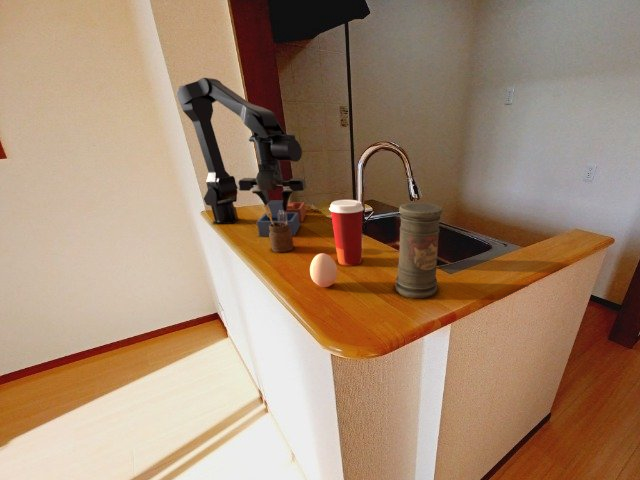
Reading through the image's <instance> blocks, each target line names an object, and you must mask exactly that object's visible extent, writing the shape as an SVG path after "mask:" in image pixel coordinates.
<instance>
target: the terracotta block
mask: <svg viewBox="0 0 640 480" xmlns="http://www.w3.org/2000/svg"><path fill="white" fill-rule="evenodd" d="M287 209H295V204H294V203H288V205H287Z"/></svg>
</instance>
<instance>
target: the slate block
mask: <svg viewBox="0 0 640 480" xmlns="http://www.w3.org/2000/svg"><path fill="white" fill-rule="evenodd" d="M267 204H268V206H269V209H270V211H271V214H272V217H271V218H284V217H285V216H286V214H285V213H284V208H283V200H277V199H276V200H272V199H271V200H270V199H269V202H268V203H267ZM269 213H270V212H269ZM278 213H279V214H278ZM280 213H281V214H280Z"/></svg>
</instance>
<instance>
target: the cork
mask: <svg viewBox="0 0 640 480" xmlns="http://www.w3.org/2000/svg"><path fill="white" fill-rule="evenodd" d="M298 192H299V191H294V192H293V193H291V194H290V197H289V201H288V203H294V202H301V200H300V196H299V193H298Z"/></svg>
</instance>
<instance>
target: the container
mask: <svg viewBox="0 0 640 480" xmlns="http://www.w3.org/2000/svg"><path fill="white" fill-rule="evenodd" d="M398 212H399V213H400V214H399V215H400V216H399V217H400V226H399V249H398V250H399V253H398V254H399V255H398V265H397V276H396V278H395V281H396V282H395V286H394V287H395V290H396V292H397V293H398V294H399V295H401V296H403V297H406V298H411V299H425V298H429V297H432V296H434V295H435V294H436V292H437V290H438V285H437V283H438V279H437V277H436V276H437V269H438V267H437V262H438V250H439V249H438V248H439V246H438V245H439V236H440V235H439V234H440V231H441V230H440V229H441V228H440V221H441V215H443V208H442V206H440V205H438V204H435V203H429V202H407V203H403V204H401V205H400V206H399V209H398Z"/></svg>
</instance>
